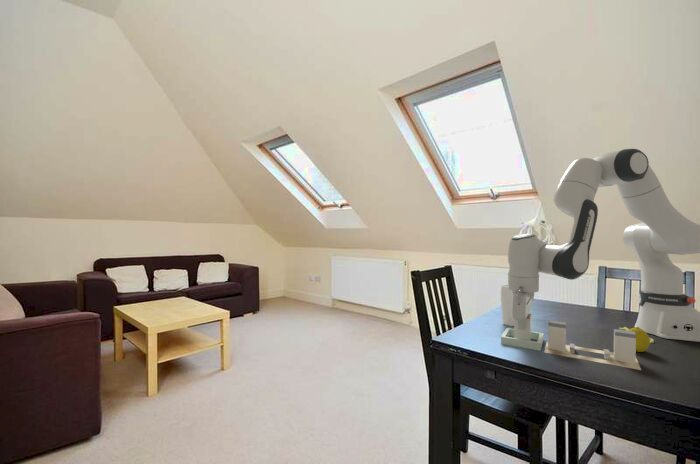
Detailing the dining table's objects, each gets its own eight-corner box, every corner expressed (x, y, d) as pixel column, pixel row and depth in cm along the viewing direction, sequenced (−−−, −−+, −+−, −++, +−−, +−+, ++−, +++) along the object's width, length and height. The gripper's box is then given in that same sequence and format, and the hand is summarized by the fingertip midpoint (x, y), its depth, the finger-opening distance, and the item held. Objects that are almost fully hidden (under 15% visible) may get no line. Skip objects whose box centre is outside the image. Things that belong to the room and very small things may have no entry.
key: (625, 332, 122) (625, 326, 122) (657, 344, 110) (657, 338, 110) (606, 332, 122) (606, 326, 122) (636, 345, 110) (636, 338, 110)
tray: (543, 342, 111) (543, 333, 111) (540, 353, 102) (540, 343, 102) (506, 336, 117) (506, 327, 117) (500, 345, 108) (501, 336, 108)
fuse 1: (565, 348, 103) (566, 322, 103) (565, 351, 101) (565, 325, 101) (548, 345, 106) (548, 320, 106) (548, 348, 103) (548, 322, 103)
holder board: (635, 358, 97) (635, 356, 97) (641, 373, 88) (641, 370, 88) (546, 343, 110) (546, 341, 110) (544, 355, 101) (544, 352, 101)
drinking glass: (522, 329, 125) (522, 288, 125) (502, 328, 126) (503, 287, 126) (517, 323, 132) (517, 285, 131) (498, 322, 133) (498, 284, 133)
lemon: (640, 358, 98) (640, 330, 98) (620, 351, 103) (620, 324, 103) (654, 355, 100) (654, 328, 99) (633, 349, 105) (634, 323, 105)
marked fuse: (531, 338, 110) (531, 313, 109) (530, 341, 107) (530, 316, 107) (515, 336, 112) (515, 311, 112) (514, 338, 110) (514, 314, 109)
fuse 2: (633, 360, 95) (634, 331, 94) (635, 364, 92) (636, 334, 92) (613, 356, 97) (613, 328, 97) (614, 360, 95) (615, 331, 94)
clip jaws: (608, 358, 98) (608, 349, 98) (609, 362, 95) (609, 354, 95) (569, 351, 103) (570, 343, 103) (569, 355, 100) (569, 347, 100)
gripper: (530, 291, 99) (530, 338, 99) (537, 281, 116) (536, 321, 116) (506, 289, 102) (506, 334, 103) (516, 279, 119) (516, 318, 120)
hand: (522, 327), depth 109 cm, fingers closed on marked fuse, 3 cm apart
